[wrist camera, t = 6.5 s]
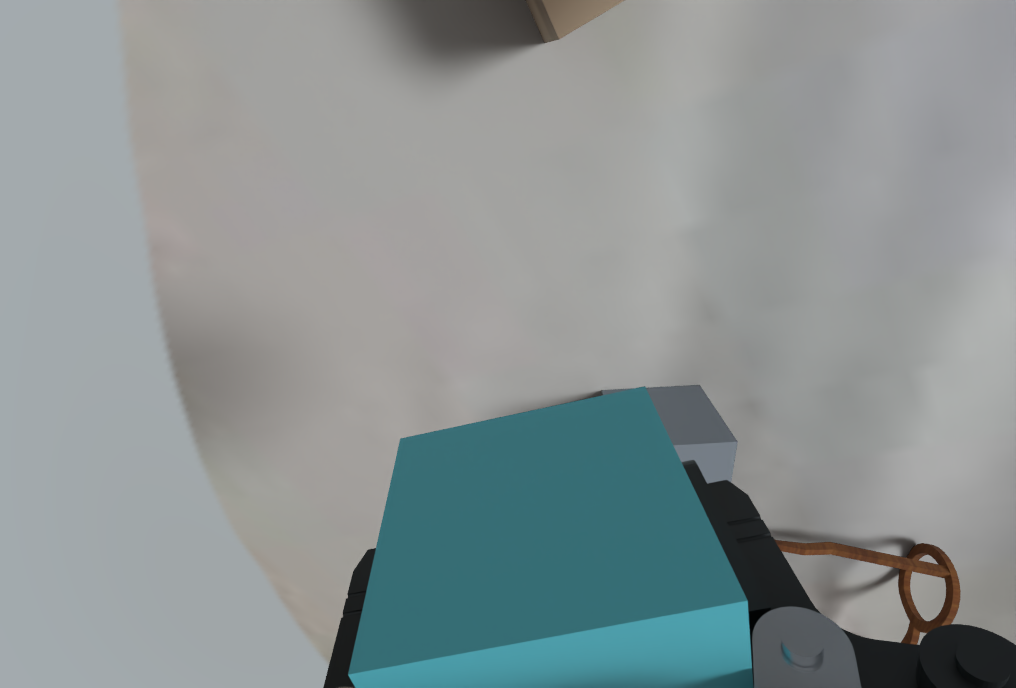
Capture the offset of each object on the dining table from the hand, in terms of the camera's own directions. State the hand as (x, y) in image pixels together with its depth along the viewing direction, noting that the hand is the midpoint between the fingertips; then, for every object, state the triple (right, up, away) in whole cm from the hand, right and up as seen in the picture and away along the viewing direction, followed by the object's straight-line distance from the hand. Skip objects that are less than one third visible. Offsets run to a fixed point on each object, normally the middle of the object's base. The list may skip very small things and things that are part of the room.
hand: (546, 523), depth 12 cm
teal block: (0, 0, 0) cm, 0 cm away
